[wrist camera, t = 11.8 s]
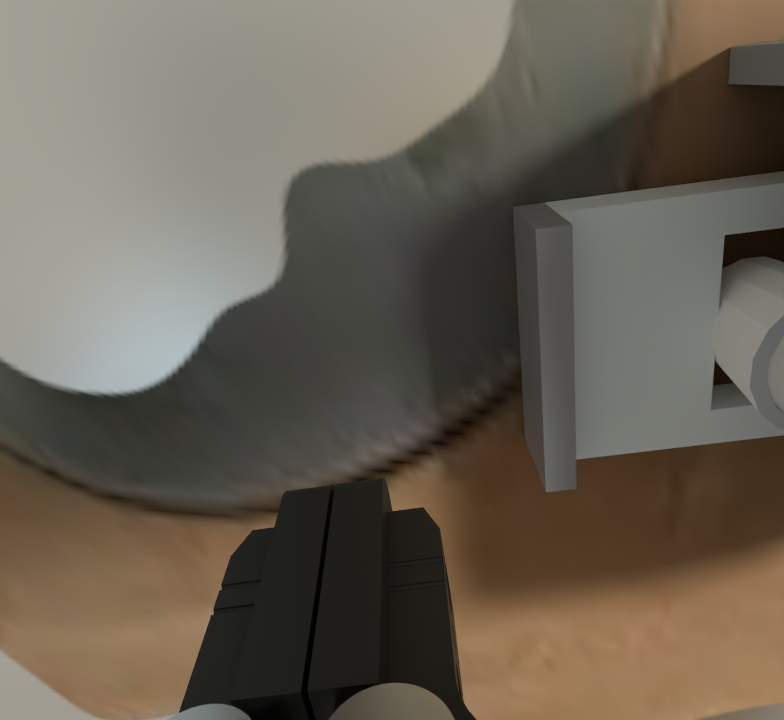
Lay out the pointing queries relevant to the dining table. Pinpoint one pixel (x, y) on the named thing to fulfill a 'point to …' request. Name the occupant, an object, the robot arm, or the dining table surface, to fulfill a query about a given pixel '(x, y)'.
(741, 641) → the dining table surface
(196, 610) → the dining table surface
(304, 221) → the dining table surface
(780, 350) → the shot glass
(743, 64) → the grey shelf
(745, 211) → the grey flat bracket
